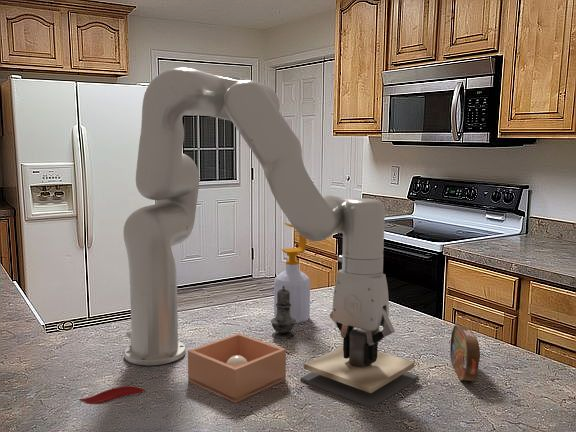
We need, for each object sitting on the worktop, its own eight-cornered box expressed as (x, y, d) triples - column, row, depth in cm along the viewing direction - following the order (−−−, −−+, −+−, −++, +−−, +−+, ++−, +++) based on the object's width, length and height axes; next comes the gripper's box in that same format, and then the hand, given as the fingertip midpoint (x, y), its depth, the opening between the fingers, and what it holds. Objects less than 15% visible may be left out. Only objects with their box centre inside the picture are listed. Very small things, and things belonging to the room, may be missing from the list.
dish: (188, 381, 105) (187, 350, 104) (238, 361, 115) (238, 333, 114) (235, 403, 97) (235, 369, 96) (285, 379, 106) (285, 349, 105)
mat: (300, 380, 106) (300, 377, 106) (349, 356, 118) (350, 354, 118) (372, 408, 95) (372, 404, 95) (418, 378, 107) (418, 375, 107)
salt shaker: (293, 341, 127) (293, 289, 125) (268, 339, 128) (268, 288, 126) (297, 332, 132) (298, 283, 131) (273, 330, 134) (274, 281, 132)
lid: (303, 368, 105) (304, 333, 105) (350, 347, 117) (351, 315, 116) (370, 393, 96) (372, 354, 95) (414, 367, 107) (415, 332, 106)
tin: (448, 357, 118) (450, 318, 117) (463, 358, 118) (465, 319, 117) (462, 388, 103) (465, 344, 102) (480, 389, 103) (483, 345, 102)
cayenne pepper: (74, 407, 96) (74, 396, 95) (80, 395, 100) (79, 385, 100) (146, 402, 97) (146, 392, 97) (149, 390, 102) (148, 380, 102)
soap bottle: (270, 314, 146) (270, 221, 142) (302, 311, 148) (304, 220, 145) (279, 325, 137) (280, 226, 134) (314, 322, 140) (316, 225, 137)
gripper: (314, 261, 106) (313, 353, 109) (390, 276, 95) (387, 378, 98) (338, 255, 112) (336, 343, 114) (412, 269, 101) (408, 366, 103)
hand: (359, 358), depth 106 cm, fingers closed on lid, 4 cm apart
